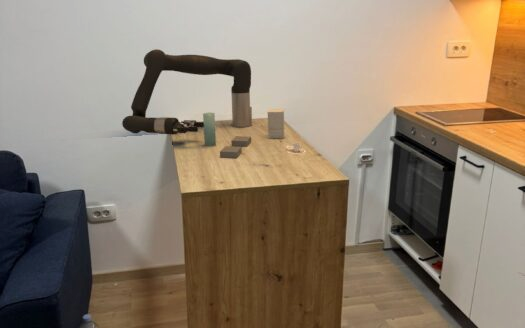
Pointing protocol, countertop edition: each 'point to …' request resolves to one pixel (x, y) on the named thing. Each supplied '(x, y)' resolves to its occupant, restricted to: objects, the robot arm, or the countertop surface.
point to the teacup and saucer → (295, 148)
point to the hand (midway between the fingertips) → (200, 127)
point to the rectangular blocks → (235, 151)
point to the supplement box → (276, 123)
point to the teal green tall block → (209, 129)
